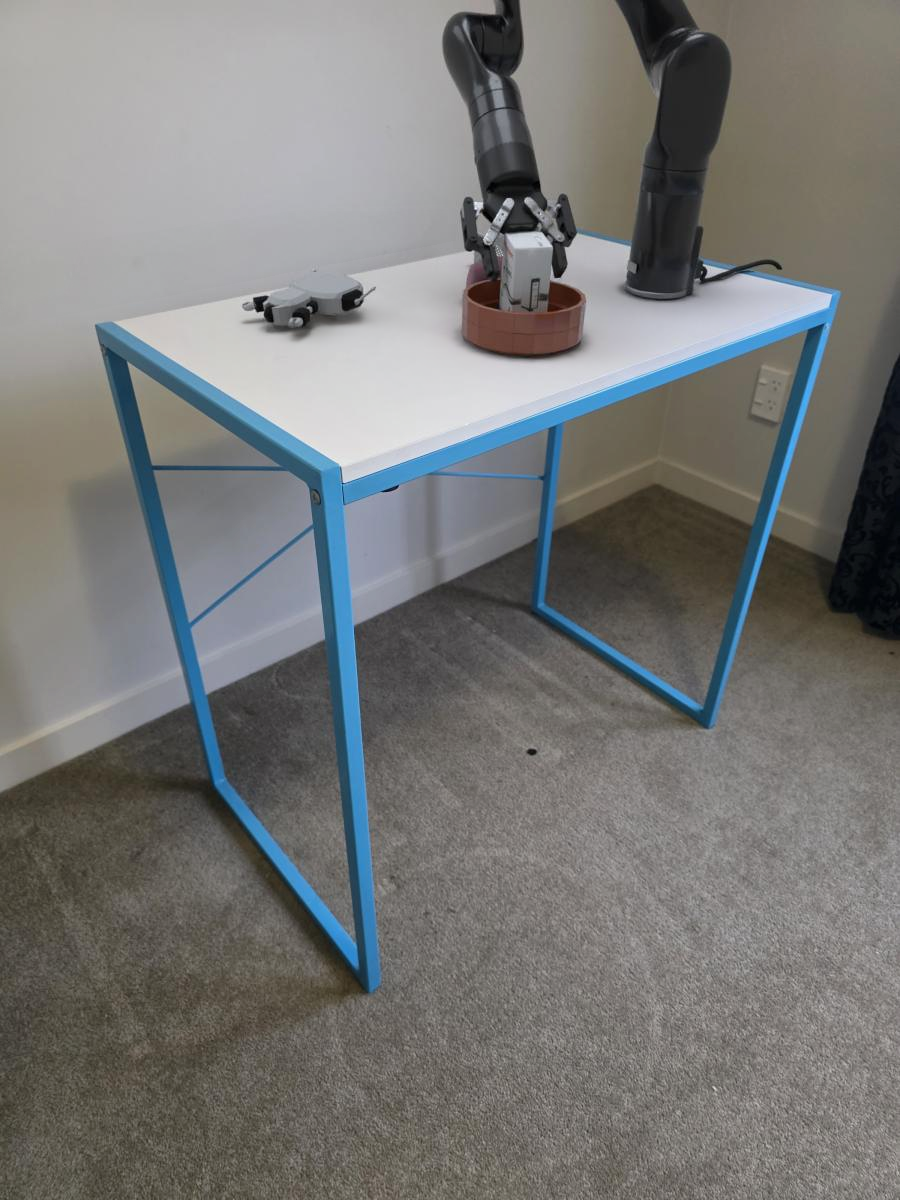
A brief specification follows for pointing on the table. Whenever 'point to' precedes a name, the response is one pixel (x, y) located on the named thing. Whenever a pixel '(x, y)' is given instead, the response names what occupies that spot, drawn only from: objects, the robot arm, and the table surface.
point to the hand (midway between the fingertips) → (528, 276)
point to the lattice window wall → (498, 243)
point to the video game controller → (480, 272)
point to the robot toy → (310, 299)
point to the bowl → (523, 320)
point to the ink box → (525, 272)
